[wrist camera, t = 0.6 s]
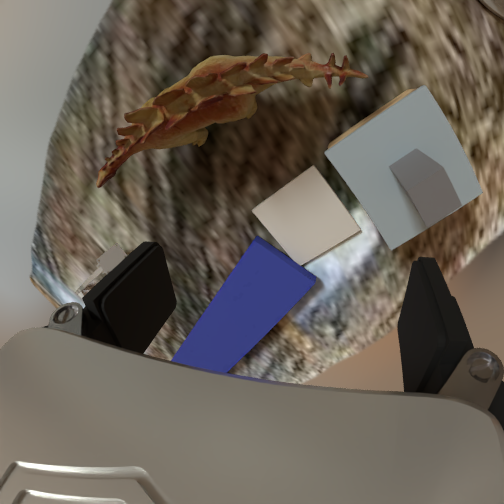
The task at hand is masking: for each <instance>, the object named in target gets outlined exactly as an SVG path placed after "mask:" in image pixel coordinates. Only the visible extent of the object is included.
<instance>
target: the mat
mask: <svg viewBox="0 0 504 504" xmlns="http://www.w3.org/2000/svg"><path fill="white" fill-rule="evenodd" d="M252 212H253V213H254V214H255V215H256V216H257V218H258V219H259V220H260V221H261V222H262V224H263V225H264V226H265V227H266V228H267V229H268V231H269V232H270V233H271V234H272V235H273V237H274V238H275V239H276V240H277V242H278V243H279V244H280V245H281V246H282V248H283V249H284V250H285V251H286V252H287V254H288V255H289V256H290V257H291V258H292V260H293V261H295V262H296V263H297V264H299V265H300V266H301V265H303V264H304V263H306V262H308V261H310V260H311V259H313V258H315V257H316V256H318V255H320V254H321V253H323V252H325V251H326V250H328V249H330V248H332V247H333V246H335V245H337V244H338V243H340V242H342V241H343V240H345V239H347V238H348V237H350V236H352V235H353V234H355V233H356V232H358V231H360V227H359V226H358V224H357V223H356V221H355V220H354V218H353V217H352V215H351V214H350V213H349V211H348V210H347V208H346V207H345V205H344V204H343V203H342V201H341V200H340V199H339V197H338V196H337V194H336V193H335V192H334V190H333V189H332V188H331V186H330V185H329V184H328V182H327V181H326V180H325V178H324V177H323V176H322V174H321V173H320V172H319V170H318V169H317V168H316V166H315V165H312V166H311V167H310V168H308V169H307V170H306V171H304V172H303V173H301V174H300V175H299V176H297V177H296V178H294V179H293V180H292V181H290V182H289V183H287V184H286V185H285V186H283V187H282V188H281V189H279V190H278V191H277V192H275V193H274V194H272V195H271V196H270V197H268V198H267V199H266V200H264V201H263V202H262V203H260V204H259V205H258V206H256V207H255V208H254V209H252Z"/></svg>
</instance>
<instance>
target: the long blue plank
mask: <svg viewBox="0 0 504 504" xmlns="http://www.w3.org/2000/svg"><path fill="white" fill-rule="evenodd" d="M315 282H316V276H314V275H313V274H312V273H310V272H309V271H307V270H306V269H305V268H303V267H302V266H300V265H299V264H297V263H296V262H295V261H293V260H292V259H290V258H289V257H288V256H286V255H285V254H283V253H282V252H280V251H279V250H278V249H276V248H275V247H273V246H272V245H270V244H269V243H268V242H266V241H265V240H263V239H262V238H260V237H259V236H256V238H255V239H254V240H253V242H252V243H251V245H250V246H249V248H248V249H247V251H246V252H245V254H244V255H243V256H242V258H241V259H240V261H239V262H238V264H237V265H236V267H235V268H234V270H233V271H232V272H231V274H230V275H229V277H228V278H227V280H226V281H225V283H224V284H223V286H222V287H221V288H220V290H219V291H218V293H217V294H216V296H215V297H214V299H213V300H212V302H211V303H210V304H209V306H208V307H207V309H206V310H205V312H204V313H203V315H202V316H201V318H200V319H199V321H198V322H197V323H196V325H195V326H194V328H193V329H192V331H191V332H190V334H189V335H188V337H187V338H186V340H185V341H184V342H183V344H182V345H181V347H180V348H179V350H178V351H177V353H176V354H175V356H174V357H173V359H172V360H171V361H173V362H177V363H181V364H185V365H190V366H194V367H199V368H204V369H209V370H213V371H218V372H224V373H227V372H228V371H229V370H230V369H231V368H232V367H233V366H234V365H235V364H236V363H237V362H238V361H239V360H240V359H241V358H242V357H243V356H244V355H246V354H247V353H248V352H249V351H250V350H251V349H252V348H253V347H254V346H255V345H256V344H257V343H258V342H259V341H260V340H261V339H262V338H263V337H264V336H265V335H266V334H267V333H268V332H269V331H270V330H271V329H272V328H273V327H274V326H275V325H276V324H277V323H278V322H279V321H280V320H281V319H282V318H283V317H284V316H285V314H286V313H287V312H288V311H289V310H290V309H291V308H292V307H293V306H294V305H295V304H296V303H297V302H298V301H299V300H300V299H301V298H302V297H303V296H304V295H305V293H306V292H307V291H308V290H309V289H310V288H311V287H312V286H313V285H314V284H315Z"/></svg>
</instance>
